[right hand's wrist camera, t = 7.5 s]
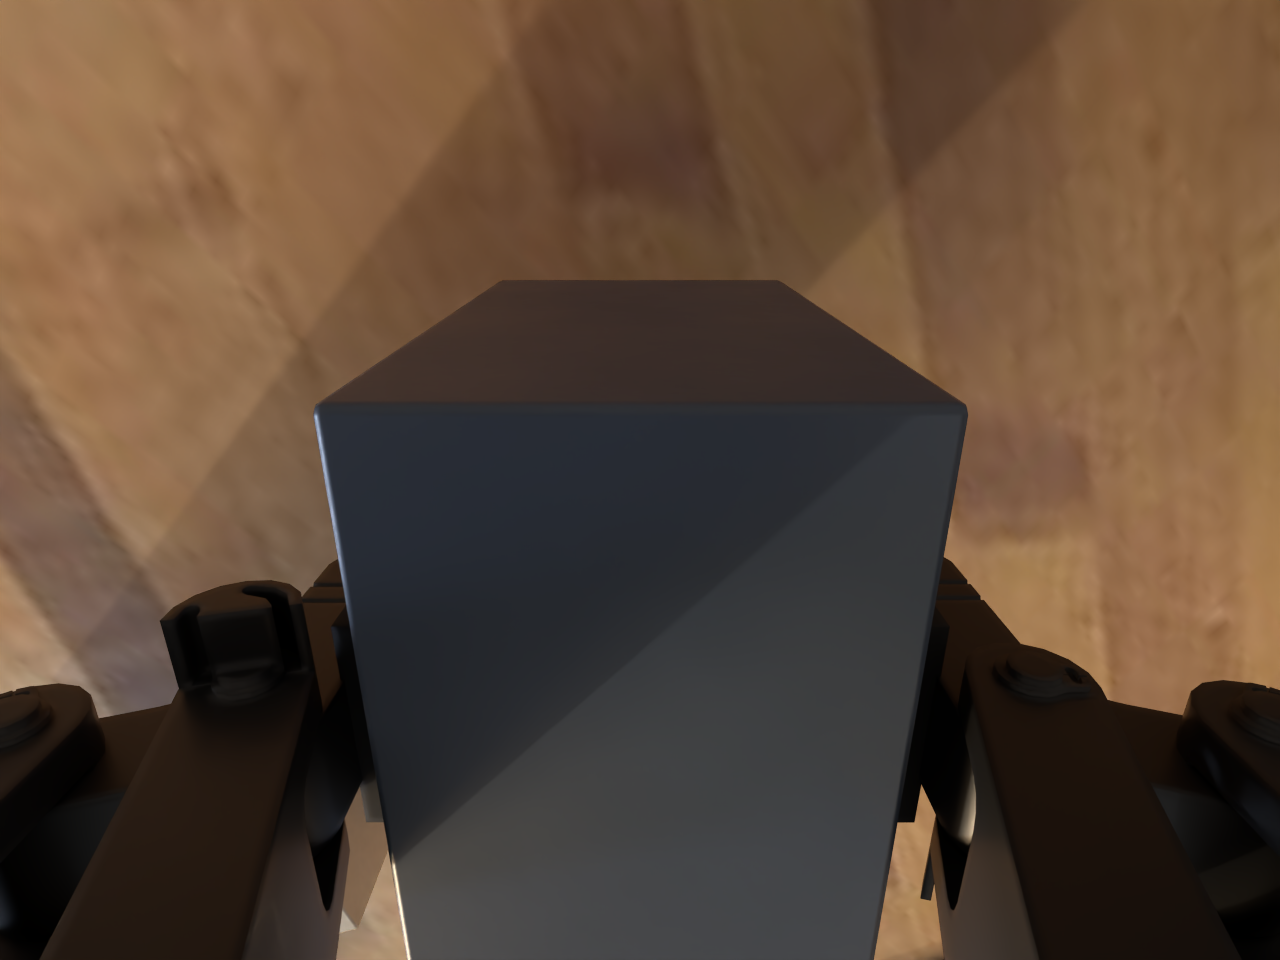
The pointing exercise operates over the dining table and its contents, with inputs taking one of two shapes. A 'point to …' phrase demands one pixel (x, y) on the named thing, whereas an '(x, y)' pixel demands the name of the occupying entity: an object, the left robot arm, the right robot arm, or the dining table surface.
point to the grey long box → (640, 617)
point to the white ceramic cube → (361, 862)
